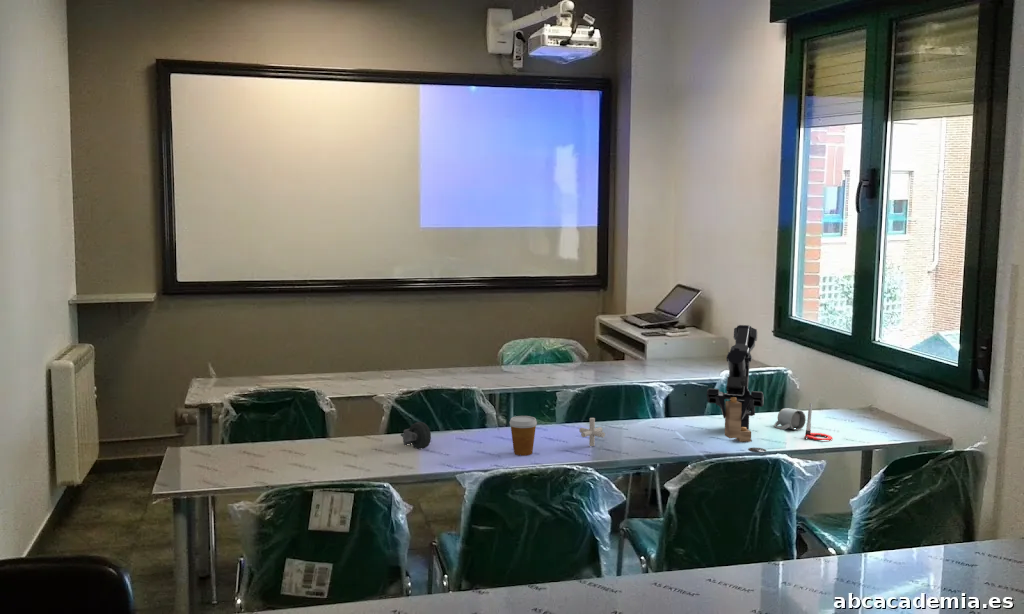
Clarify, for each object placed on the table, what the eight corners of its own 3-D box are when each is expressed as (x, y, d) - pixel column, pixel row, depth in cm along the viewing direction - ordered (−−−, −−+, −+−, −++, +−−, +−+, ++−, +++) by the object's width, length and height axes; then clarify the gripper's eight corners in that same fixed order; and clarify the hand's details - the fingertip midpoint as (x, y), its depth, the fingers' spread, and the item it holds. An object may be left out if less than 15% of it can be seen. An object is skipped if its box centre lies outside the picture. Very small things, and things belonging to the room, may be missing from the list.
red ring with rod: (833, 438, 323) (806, 434, 326) (836, 403, 321) (809, 400, 325) (831, 443, 315) (803, 439, 319) (834, 408, 313) (807, 405, 317)
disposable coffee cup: (505, 451, 304) (504, 417, 303) (530, 448, 308) (530, 414, 307) (516, 458, 296) (516, 423, 294) (541, 455, 299) (541, 420, 298)
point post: (724, 435, 303) (725, 396, 301) (735, 434, 303) (736, 396, 302) (729, 438, 299) (730, 399, 297) (740, 437, 300) (741, 398, 298)
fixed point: (736, 438, 318) (736, 426, 317) (746, 438, 318) (747, 426, 317) (740, 441, 314) (740, 429, 313) (751, 441, 314) (751, 428, 313)
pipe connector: (571, 446, 310) (572, 418, 309) (589, 441, 317) (589, 413, 316) (594, 451, 303) (594, 423, 302) (611, 446, 310) (612, 418, 309)
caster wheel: (433, 451, 308) (407, 439, 318) (434, 425, 306) (409, 413, 317) (420, 454, 304) (394, 441, 315) (421, 427, 302) (396, 416, 313)
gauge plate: (724, 439, 319) (724, 437, 319) (754, 438, 320) (754, 436, 320) (745, 455, 298) (745, 453, 298) (777, 454, 300) (777, 452, 300)
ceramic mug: (790, 424, 341) (790, 405, 340) (805, 429, 334) (806, 409, 333) (769, 428, 336) (769, 408, 335) (784, 432, 329) (785, 412, 328)
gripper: (707, 365, 305) (703, 403, 296) (764, 368, 299) (760, 407, 290) (710, 383, 313) (705, 421, 304) (764, 386, 307) (761, 425, 298)
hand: (732, 418), depth 299 cm, fingers closed on point post, 5 cm apart
